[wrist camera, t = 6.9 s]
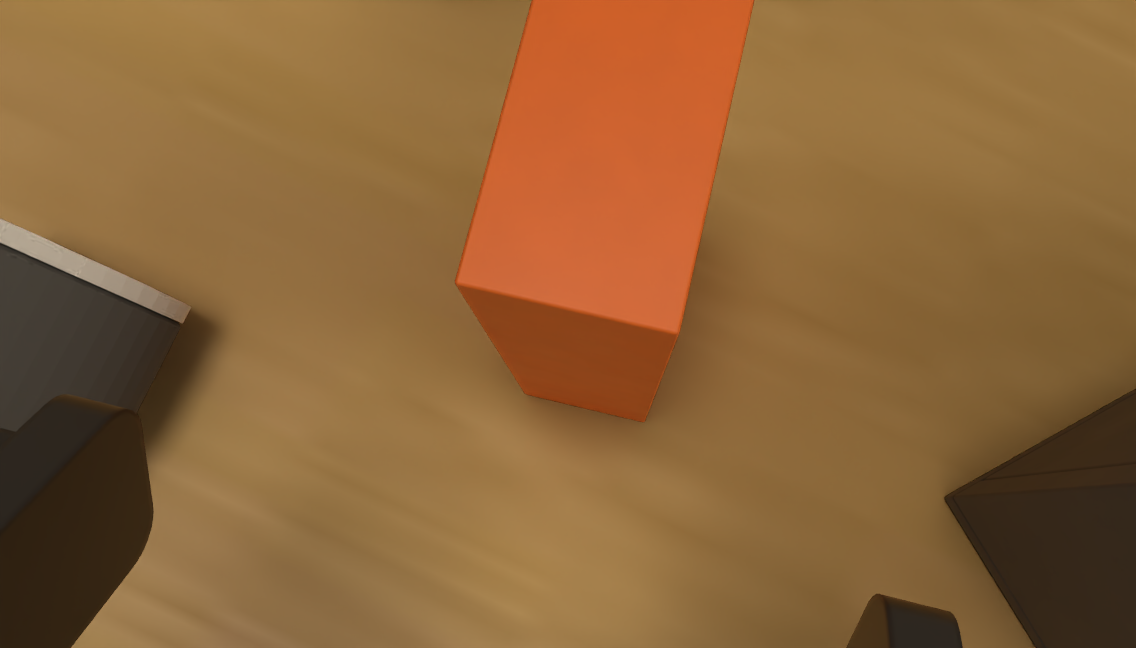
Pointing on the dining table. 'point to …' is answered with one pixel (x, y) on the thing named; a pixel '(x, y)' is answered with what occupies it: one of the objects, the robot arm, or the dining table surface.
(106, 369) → the flashlight
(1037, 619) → the trash bin
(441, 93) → the dining table surface
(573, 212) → the block
